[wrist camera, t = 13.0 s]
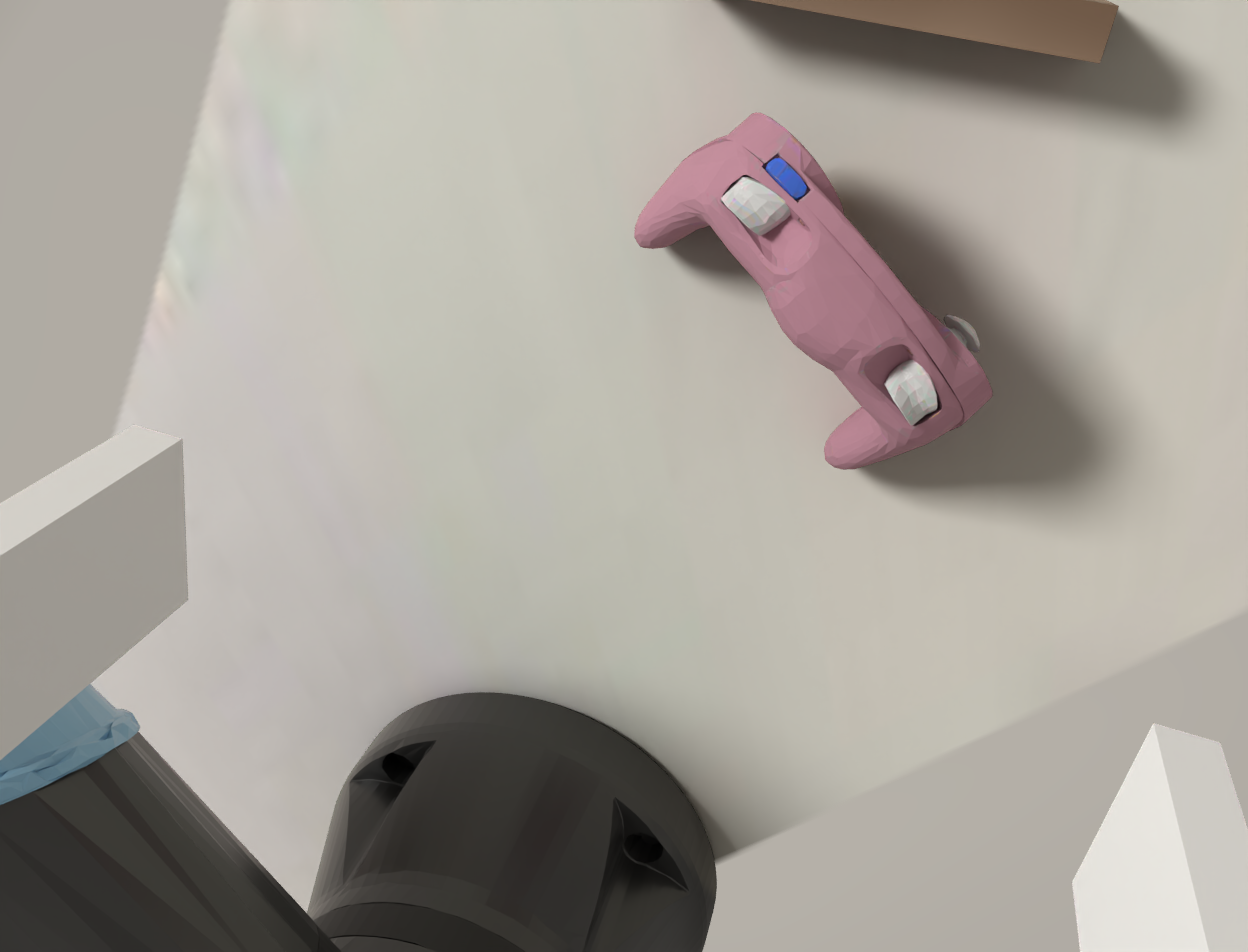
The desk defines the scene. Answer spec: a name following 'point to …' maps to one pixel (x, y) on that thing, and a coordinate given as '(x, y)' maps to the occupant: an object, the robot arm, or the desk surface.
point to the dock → (988, 21)
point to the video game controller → (825, 289)
